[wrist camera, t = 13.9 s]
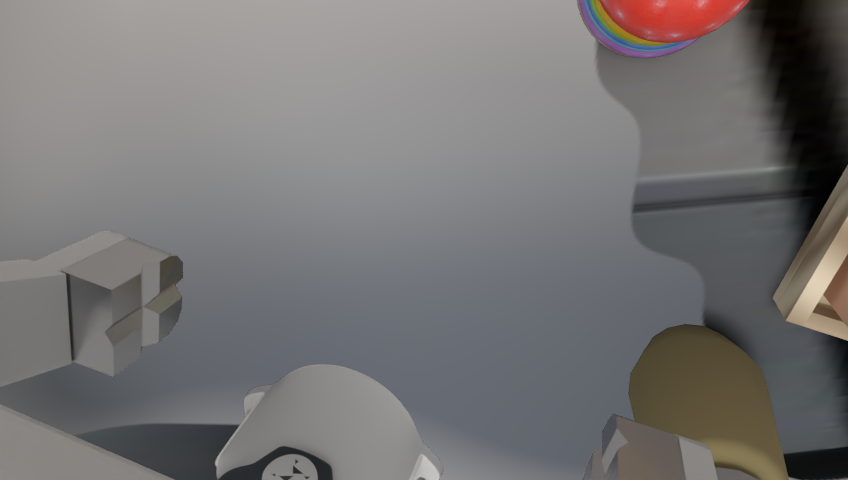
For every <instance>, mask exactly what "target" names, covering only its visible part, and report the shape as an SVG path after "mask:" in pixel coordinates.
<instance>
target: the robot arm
mask: <svg viewBox="0 0 848 480" xmlns="http://www.w3.org/2000/svg"><path fill="white" fill-rule="evenodd" d="M182 278H183V262H182V261H181V260H180V259H179V257H178V256H176V255H173V254H171V253H168V252H165V251H163V250H160V249H158V248H155V247H152V246H150V245H147V244H145V243H142V242H140V241H137V240H134V239H131V238H129V237H126V236H124V235H121V234H118V233H115V232H112V231H101V232H99V233H97V234H94V235H92V236H90V237H88V238H85V239H83V240H81V241H79V242H77V243H75V244H73V245H70V246H68V247H65V248H63V249H61V250H59V251H57V252H54V253H52V254H50V255H48V256H45V257H43V258H41V259H39V260H37V261H35V262H34V261H31V260H28V259H23V260H13V261H3V262H0V387H2V386H5V385H8V384H11V383H14V382H17V381H20V380H23V379H26V378H29V377H32V376H35V375H38V374H41V373H44V372H48V371H51V370H54V369H57V368H59V367H63V366H66V365H69V364H71V363H72V361H73V362H75V363H78V364H81V365H84V366H86V367H89V368H92V369H94V370H97V371H100V372H102V373H105V374H108V375H111V376H113V377H114V376H115V375H117V374H118V373H119V372H121V371H122V370H123V369H125V368H126V367H127V366H129V365H130V364H131V363H133V362H134V361H135V360H137V359H138V358H139V357H140V356H141V354H142V347H143V346H146V345H151V344H155V343H159V342H160V341H161V340H162V339H164V338H165V337H166V336H167V335H169V333H170V332H171V331H172V329H173V328H174V326H175V325H176V323H177V322H178V319H179V316H180V312H181V309H182V297H181V295H180V293H179V291H178V289H177V287H176V284H177V283H178V282H179V281H180V280H181V279H182ZM244 411H245V419H244V420H243V422H242V423H241V424H240V426H239V427H238V428H237V430H236V431H235V433H234V434H233V435H232V437H231V438H230V439H229V441H228V442H227V444H226V445H225V446H224V448H223V449H222V451H221V452H220V453H219V455H218V457H217V459H216V462H215V465H216V467H217V472H216V474H217V479H218V480H439V479H440V477H441V475H442V474H443V465H442V463H441V462H440V460H439V459H438V458H437V457H436V455H435V454H434V453H433V452H432V451H431V450H430V449H429V448H428V447H427V446H426V445H425V444H424V443H423V441H422V439H421V437H420V435H419V433H418V431H417V428H416V426H415V424H414V422H413V420H412V418H411V416H410V414H409V413H408V411H407V410H406V408H405V407H404V406H403V404H402V403H401V402H400V401H399V400H398V399H397V398H396V397H395V396H394V395H393V394H392V393H391V392H390V391H389V390H388V389H387V388H385V387H384V386H383V385H381V384H380V383H379V382H377V381H376V380H374V379H372V378H370V377H369V376H367V375H365V374H363V373H361V372H358V371H355V370H353V369H350V368H347V367H343V366H338V365H332V364H314V365H307V366H304V367H300V368H298V369H295V370H293V371H291V372H290V373H288V374H287V375H285V376H284V377H283V378H282V379H280V380H279V381H277V382H276V383H274V384H271V385H263V386H258V387H255V388H252V389H251V390H250V391H249V392H248V394H247V395H246V396H245V398H244ZM422 477H423V478H422ZM424 478H425V479H424ZM0 480H174V479H172V478H170V477H167V476H165V475H163V474H161V473H158V472H156V471H154V470H151V469H149V468H147V467H144V466H142V465H140V464H137V463H135V462H133V461H130V460H128V459H126V458H123V457H121V456H119V455H117V454H114V453H112V452H110V451H107V450H105V449H103V448H100V447H98V446H96V445H93V444H91V443H89V442H86V441H84V440H82V439H79V438H77V437H75V436H73V435H70V434H68V433H66V432H63V431H61V430H58V429H56V428H54V427H52V426H49V425H47V424H45V423H42V422H40V421H38V420H35V419H33V418H31V417H28V416H26V415H24V414H22V413H19V412H17V411H14V410H12V409H10V408H8V407H5V406H3V405H1V404H0ZM582 480H718V477H717V473H716V469H715V465H714V461H713V457H712V453H711V449H710V448H709V447H708V446H707V445H706V444H703V443H700V442H697V441H694V440H691V439H688V438H685V437H682V436H679V435H676V434H674V435H673V434H670V433H667V432H665V431H662V430H659V429H656V428H653V427H650V426H647V425H645V424H642V423H639V422H636V421H633V420H630V419H627V418H624V417H622V416H619V415H616V414H612V415H611V416H610V418H609V419H608V420H607V423H606V425H605V427H604V429H603V431H602V447H601V448H598V449H596V450H594V451H593V453H592V455H591V457H590V459H589V461H588V464H587V466H586V469H585V473H584V476H583V479H582Z"/></svg>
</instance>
